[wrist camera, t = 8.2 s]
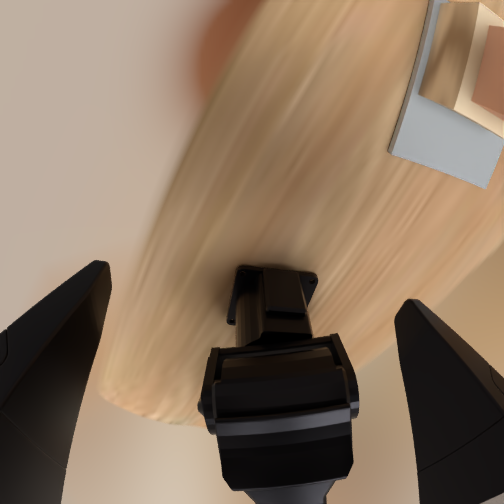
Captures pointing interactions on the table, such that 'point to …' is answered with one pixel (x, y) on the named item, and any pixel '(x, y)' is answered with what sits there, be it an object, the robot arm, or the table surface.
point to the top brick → (491, 74)
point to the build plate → (442, 127)
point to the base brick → (460, 61)
